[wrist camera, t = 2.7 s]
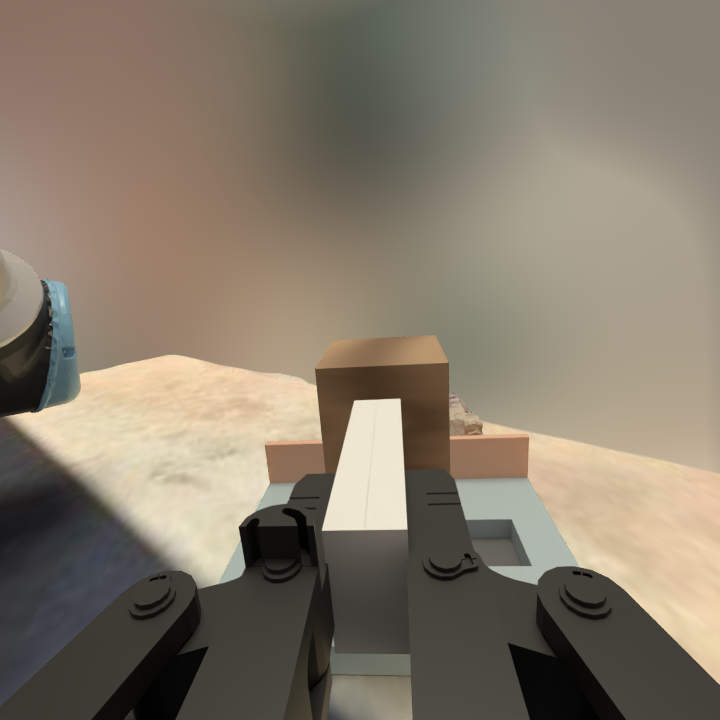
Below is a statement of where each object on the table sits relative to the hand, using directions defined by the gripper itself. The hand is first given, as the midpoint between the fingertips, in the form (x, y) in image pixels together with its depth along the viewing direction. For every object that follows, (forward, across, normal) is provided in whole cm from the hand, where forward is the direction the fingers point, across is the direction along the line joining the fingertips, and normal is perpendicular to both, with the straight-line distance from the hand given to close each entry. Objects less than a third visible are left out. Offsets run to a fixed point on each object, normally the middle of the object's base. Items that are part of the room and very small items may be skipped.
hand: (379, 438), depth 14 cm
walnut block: (+9, 0, -15) cm, 17 cm away
